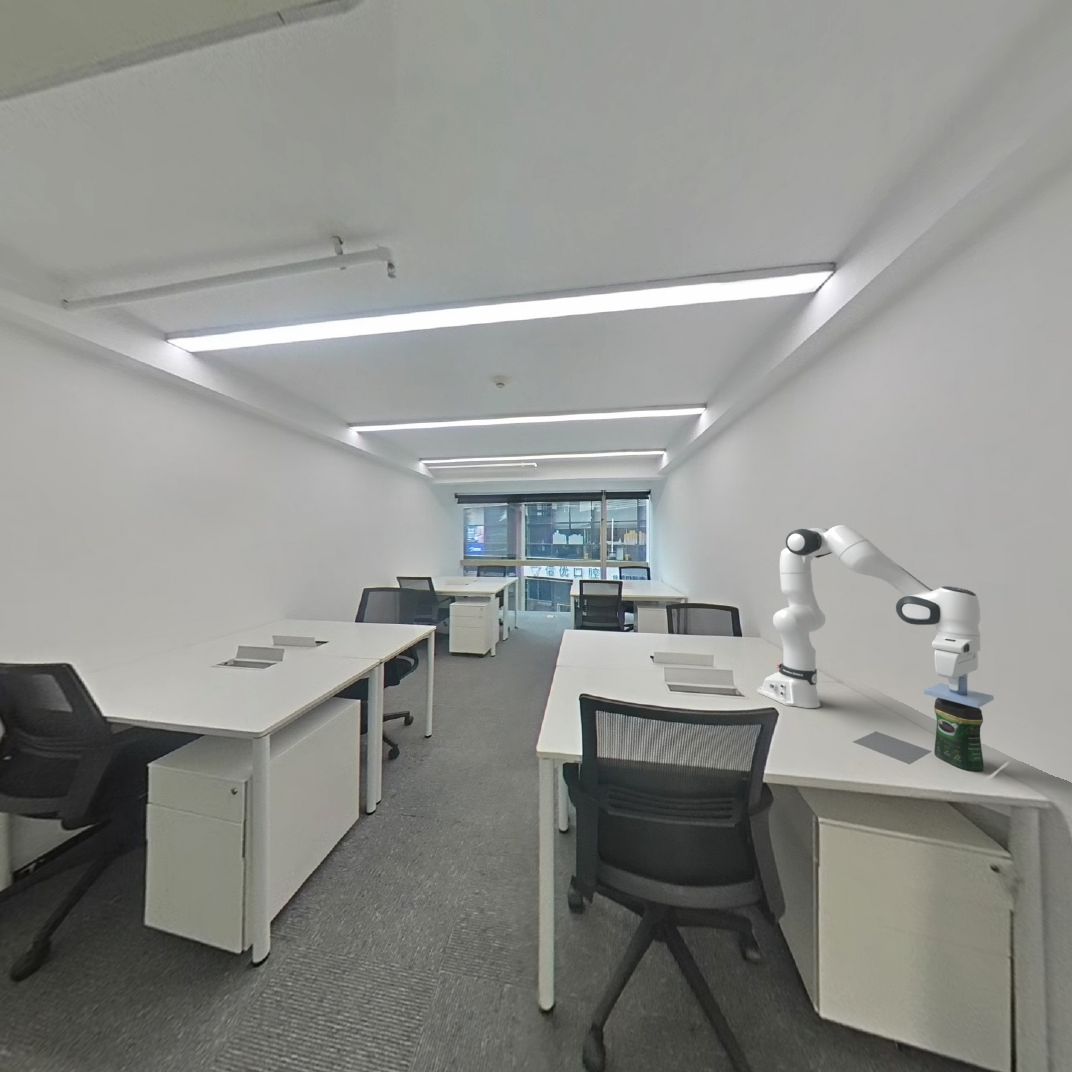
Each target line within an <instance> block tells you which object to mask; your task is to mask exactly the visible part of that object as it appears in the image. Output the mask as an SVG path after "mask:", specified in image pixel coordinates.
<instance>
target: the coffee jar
mask: <svg viewBox="0 0 1072 1072" xmlns="http://www.w3.org/2000/svg"><path fill="white" fill-rule="evenodd" d="M933 708H934V709H933V710H934V714H935V718H936V729H935V731H936V733H935V740H934V751H933V752H934V756H936V758H938V759H939V760H941V761H943V762H945V763H947V764H948V765H950V766H953V767H955V768H957V769H960V770H964V771H969V772H981V771H983V770H984V757H983V750H982V742H981V741H982V739H981V727H982V725H983V722H984V718H983V712H982V710H981V709H980V707H979V708H976V707H972V706H968V705H964V704H961V703H957V702H953V701H949V700H945V699H942V698H938V697H936V699H935V700H934V706H933Z"/></svg>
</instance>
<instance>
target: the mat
mask: <svg viewBox="0 0 1072 1072" xmlns="http://www.w3.org/2000/svg"><path fill="white" fill-rule="evenodd" d="M852 743H855V744H857V745H860V746H862V747H864V748H866V749H870V750H872V751H875V752H876V753H879V754H882V755H885V756H886V757H889V758H893V759H895V760H897V761H901V762H902V763H905V764H908V765H911V764H913V763H914V762H916V761H918V760H920V759H921V758H923V757H925V756H926V755H928V754H930V753H931V752H932V750H929V749H926V748H924V747H922V746H919V745H916V744H913V743H910V742H908V741H904V740H901V739H899V738H896V737H893V736H890V735H889V734H885V733H883V732H880V731H873V732H871V733H869V734H867V735H864V736H862V737H861V738H858V739H856V740H853V741H852Z"/></svg>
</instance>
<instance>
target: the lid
mask: <svg viewBox="0 0 1072 1072" xmlns="http://www.w3.org/2000/svg"><path fill="white" fill-rule="evenodd" d="M958 681H959V684H960V689H959V690H957V691H956V690H952V689H950V688H949V684H946V683H942V682H941V683H938V684H935V685H933V686H931V687H928V688H926V689H924V690H923V694H924V695H927V696H931V697H934V698H942V699H945V700H949V701H953V702H957V703H961V704H964V705H968V706H972V707H976V708H979V709H980V708H981V707H983V706H985V705H987V704H989V703H990V702H992V701H994V697H995V696H994V695H992V694H988V693H984V692H980V691H976V690H971V689H968V678H965V677H961V676H959V679H958Z"/></svg>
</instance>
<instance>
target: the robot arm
mask: <svg viewBox="0 0 1072 1072" xmlns="http://www.w3.org/2000/svg"><path fill="white" fill-rule="evenodd" d="M785 546H786V547H785V548H783V549H782V550H781V552H780V555H779V566H778V567H779V568H778V569H779V578H780V579H779V582H780V590H781V591H780V592H781V593H782V595H783V596H785V598H786V601H787V604H788V607H783V608H781V609H780V610H777V611H776V612H775V613H774V614H773V616H772V617H773V618H772V623H773V626H774V628H775V630H777V631H778V633H779V636H780V639H781V643H782V653H783V655H782V657H783V658H782V661H783V662H782V663H780V664H777V665H776V668H777V669H779V670H778V671H776V672H775V673H772V674H771V675H768V676H767V677H765V678H764V680H763V684H762V686H759V687H757V689H756V692H757V693H758V694H761V695H762V696H765V697H767V698H769V699H771V700H773V701H775V702H779V703H780V704H783V705H785V706H788V707H799V708H805V709H816V708H820V707H821V702H820V699H819V695H818V688H817V683H818V670H817V667H816V664H817V663H816V660H817V659H816V658H817V657H816V656H817V655H816V652H817V651H816V649H815V647H814V646H813V645H812V641H811V639H810V633H812V632H816V631H818V630H819V629H821V628H822V627H823V626H824V625H825V623H826V616H825V614H824V612H823V611H822V610H821V609H820V606H819V604H818V602H817V599H816V596H815V593H814V586H813V577H812V568H811V567H812V566H811V564H812V563H811V562H812V560H813V559H814V558H815V559H816V558H817V559H819V558H822V557H825V556H828V555H830V554H833V555H834V556H835V557H836V558H837V559H838V560H839V561H840V562H841V563H842V564H843V565H844V566H845V567H847V568H848V569H850V570H851V571H854V572H855V573H857V574H860V575H865V576H868V577H873V578H876V579H879V580H882V581H885V582H886V583H888V584H890V585H891V586H893V588H895V589H896V590H898V592H900V593H901V594H902V595H904V596H902V597H901V598H899V600H898V601H897V602H896V605H895V612H896V614H897V616H898V617H899V618H900V619H901V620H902V621H903V622H905V623H907V624H910V625H913V626H914V625H915V626H934V627H936V634H935V638H934V639H933V640H932V642H931V648H933V649H935V650H934V652H933V654H934V668H935V673H936V674H937V676H939V677H942V678H946V679H947V681H948V683H949V684H948V685H949V688H950V689H952V690H956V691H957V690H959V689H960V684H959V681H958V679H959V676H961V677H965V678H967V679H968V677H969V674H970V673H972V672H974V671H977V670H978V667H979V657H978V652H980V651H981V631H980V629H979V624H980V621H981V608H980V607H981V606H980V601H979V598H978V596H977V594H976V593H975V592H973V591H971V590H968V589H965V588H961V587H955V586H949V585H948V586H940V587H939V588H937V589H931V588H930V587H928V586H927V585H925V584H924V583H923V582H922V581H920V580H919V579H917V578H916V577H915V576H913V575H912V574H911V573H910V572H908V571H907V570H906V569H904V568H903V567H902V566H900V565H899V564H897V563H896V562H895V561H893V560H892V559H891V558H890V557H888V556H887V555H886V554H885V553H884V552H883V551H882V550H880V549H879V548H878V546H876V545H875V544H874V543H872V542H871V541H870V540H869V539H867V537H865V536H864V535H862V534H861V533H859V532H858V531H857V530H856V529H853V528H852V527H850V526H848V525H846V524H840V525H835V526H832V527H831V528H829V529H827V528H817V527H811V528H798V529H794V530H793V531H791V532H789V533H788V535H787V536H786V539H785Z"/></svg>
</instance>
